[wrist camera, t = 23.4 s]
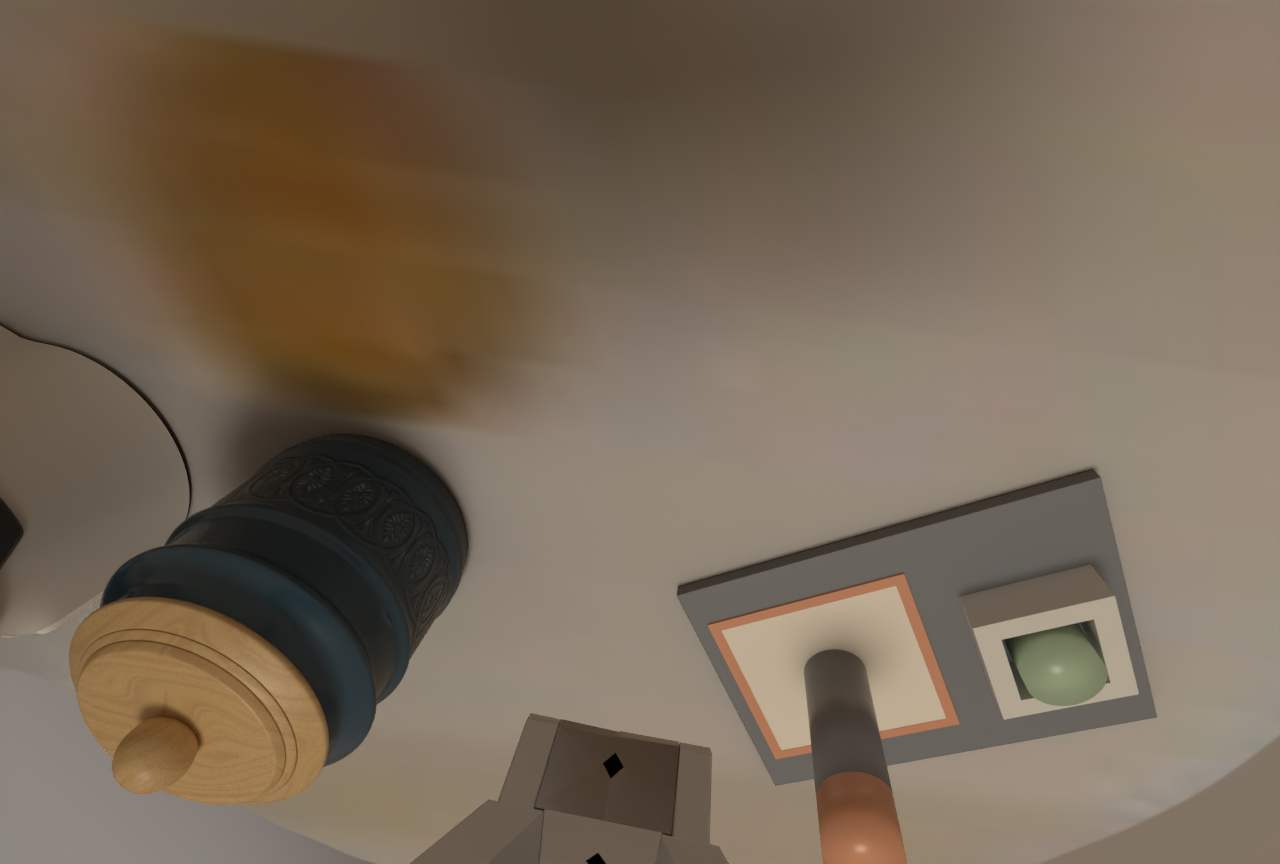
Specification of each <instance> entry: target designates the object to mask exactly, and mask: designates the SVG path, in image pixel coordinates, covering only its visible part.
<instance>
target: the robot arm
mask: <svg viewBox="0 0 1280 864" xmlns="http://www.w3.org/2000/svg"><path fill="white" fill-rule="evenodd" d="M189 496H190V495H189V483H188V477H187V473H186V469H185V466H184V463H183V460H182V457H181V455H180V452H179V450H178V448H177V446H176V444H175V442H174V440H173V438H172V437H171V435H170V433H169V432H168V430H167V428H166V427H165V425H164V424H163V423H162V421H161V420H160V418H159V417H158V416H157V415H156V413H155V412H154V411H153V410H152V408H151V407H150V406H149V405H148V404H147V403H146V402H145V401H144V400H143V399H142V398H141V397H140V396H139V395H138V394H137V393H136V392H135V391H134V390H133V389H132V388H131V387H130V386H129V385H127V384H126V383H125V382H124V381H123V380H121V379H120V378H119V377H117V376H116V375H115V374H113V373H112V372H110V371H109V370H107V369H106V368H104V367H103V366H101V365H99V364H98V363H96V362H94V361H92V360H90V359H88V358H86V357H84V356H82V355H80V354H77V353H75V352H73V351H70V350H67V349H64V348H61V347H57V346H53V345H48V344H43V343H38V342H34V341H30V340H27V339H24V338H21V337H19V336H17V335H15V334H14V333H12V332H11V331H9V330H7V329H5V328H4V327H2V326H0V637H2V638H4V639H10V638H13V637H16V636H25V635H29V634H31V635H36V634H46V633H48V632H51V631H53V630H54V629H56V628H58V627H59V626H61V625H62V624H64V623H65V622H67V621H68V620H70V619H71V618H73V617H74V616H76V615H77V614H79V613H80V612H82V611H83V610H85V609H86V608H88V607H89V606H91V605H92V604H94V603H95V602H96V601H98V600H99V599H101V598H102V594H103V591H104V589H105V587H106V584H107V583H108V581H109V580H110V578H111V577H112V575H113V574H114V573H115V571H116V570H117V569H118V568H119V567H120V566H121V565H122V564H124V563H125V562H126V561H128V560H129V559H131V558H133V557H134V556H136V555H138V554H140V553H142V552H144V551H147V550H150V549H153V548H156V547H161V546H164V545H165V543H166V541H167V539H168V538H169V536H170V535H171V533H172V532H173V531H174V530H175V528H176V527H178V526H179V525H180V524H181V523H182V522H183V521H184V520H186V517H187V513H188V508H189ZM711 771H712V753H711V750H710V748H707V747H702V746H696V745H691V744H686V743H680V744H679V742H677V741H672V740H666V739H661V738H655V737H649V736H644V735H638V734H633V733H627V732H622V731H620V732H617V731H612V730H608V729H603V728H599V727H594V726H590V725H585V724H581V723H576V722H572V721H567V720H563V719H556V718H551V717H547V716H542V715H537V714H533V713H531V714H530V716H529V717H528V719H527V721H526V723H525V726H524V728H523V731H522V734H521V737H520V740H519V743H518V745H517V748H516V751H515V754H514V757H513V760H512V762H511V765H510V768H509V771H508V774H507V776H506V779H505V782H504V785H503V788H502V791H501V793H500V796H499V799H498V801H493V800H488V801H486V802H485V803H484V804H483V805H481V806H480V807H479V808H478V809H477V810H475V811H474V812H473V813H472V814H470V815H469V816H468V817H467V818H465V819H464V820H463V821H462V822H461V823H459V824H458V825H457V826H456V827H454V828H453V829H452V830H451V831H449V832H448V833H447V834H446V835H445V836H443V837H442V838H441V839H440V840H438V841H437V842H436V843H435V844H433V845H432V846H431V847H430V848H429V849H427V850H426V851H425V852H424V853H422V854H421V855H420V856H419V857H417V858H416V859H415V860H414V861H413V862H411V863H410V864H729V863H728V861H727V860H726V858H725V856H724V854H723V853H722V851H721V849H720V847H719V846H716V845H712V844H709V843H710V807H711Z"/></svg>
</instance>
